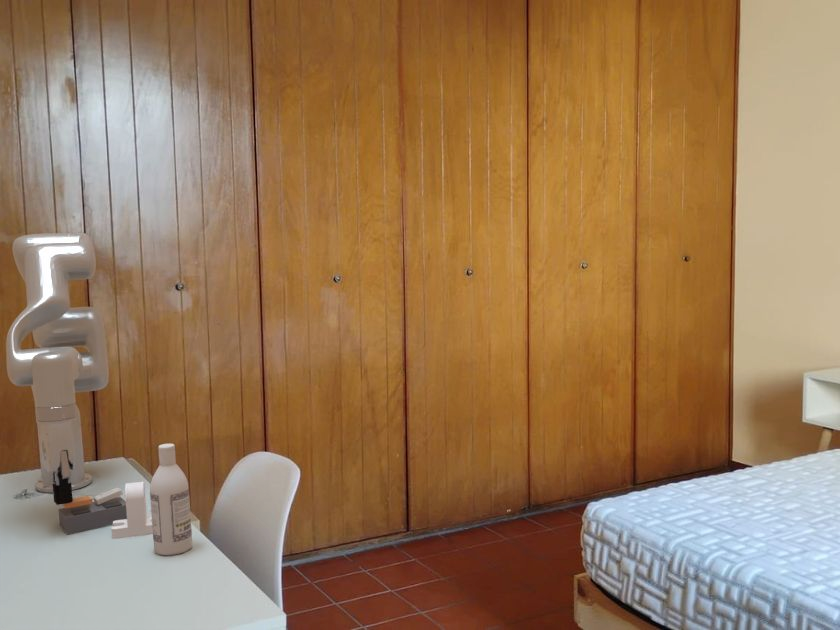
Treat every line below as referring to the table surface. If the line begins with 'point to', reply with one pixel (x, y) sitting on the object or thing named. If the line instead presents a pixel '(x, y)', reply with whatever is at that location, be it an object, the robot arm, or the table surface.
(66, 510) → the rocker switch box
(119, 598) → the table surface
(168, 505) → the bath foam
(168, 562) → the table surface
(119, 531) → the cable organizer
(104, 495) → the rocker grey
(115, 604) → the table surface
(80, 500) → the rocker orange
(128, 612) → the table surface
